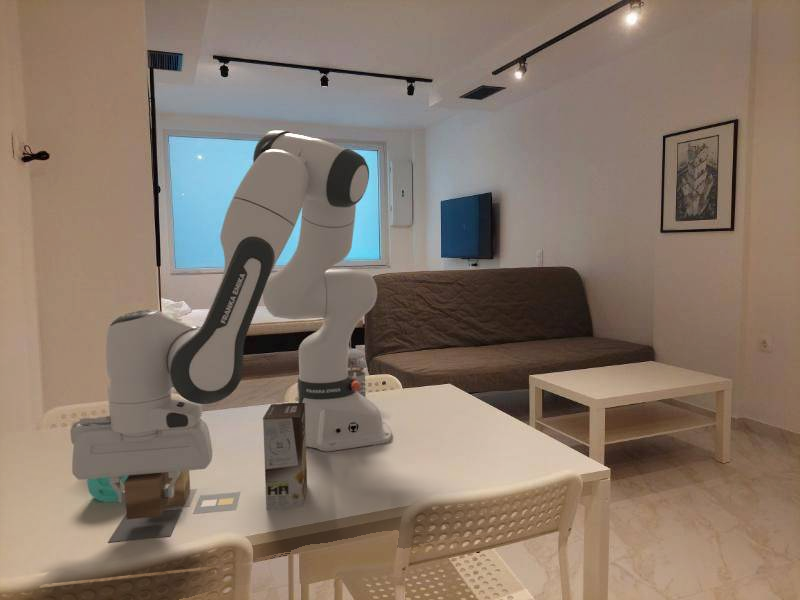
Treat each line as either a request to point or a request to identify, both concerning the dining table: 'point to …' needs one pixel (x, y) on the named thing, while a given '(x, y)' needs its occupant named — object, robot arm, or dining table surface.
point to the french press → (357, 368)
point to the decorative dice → (103, 489)
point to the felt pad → (146, 527)
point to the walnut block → (145, 495)
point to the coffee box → (285, 455)
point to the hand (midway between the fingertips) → (147, 499)
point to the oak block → (180, 488)
